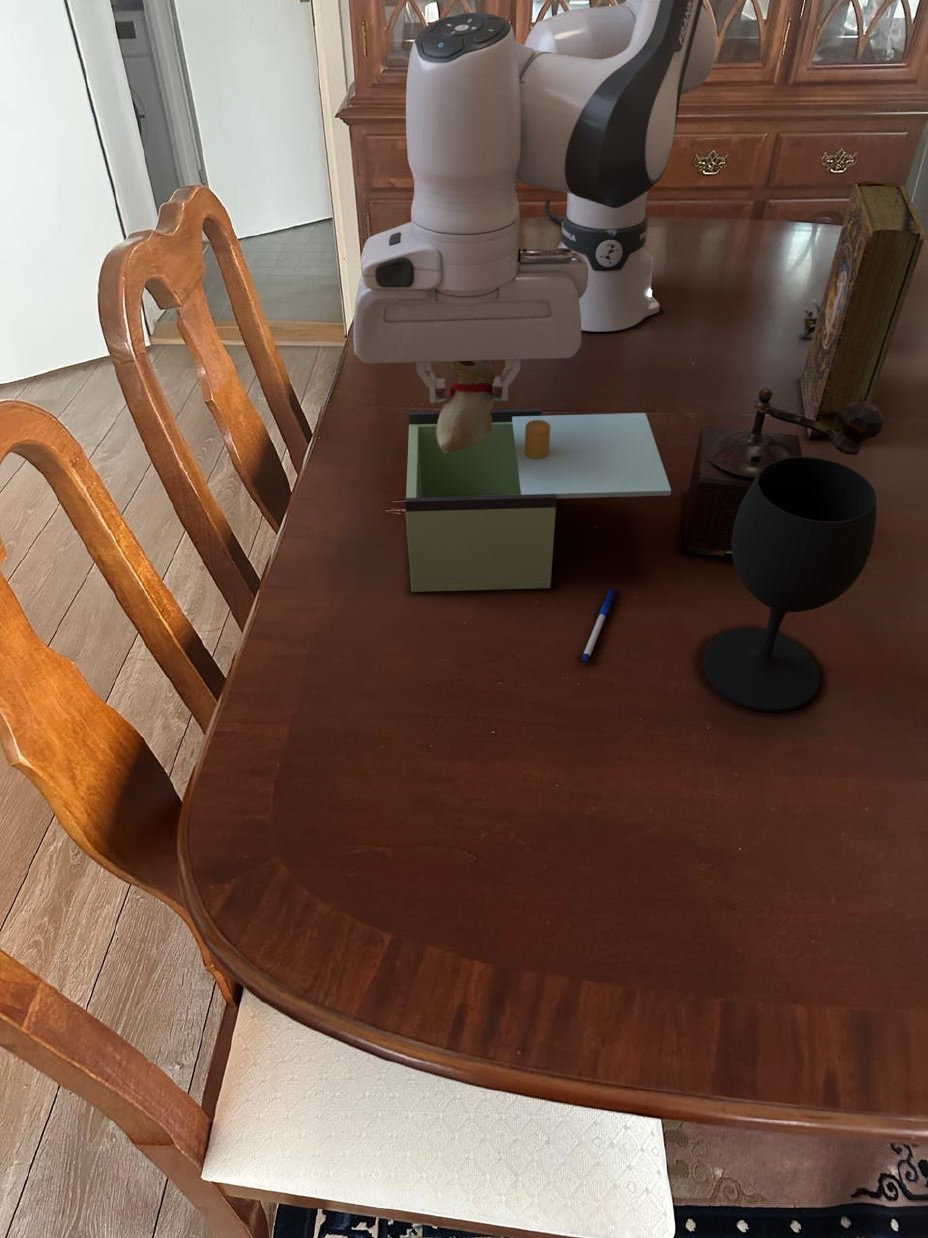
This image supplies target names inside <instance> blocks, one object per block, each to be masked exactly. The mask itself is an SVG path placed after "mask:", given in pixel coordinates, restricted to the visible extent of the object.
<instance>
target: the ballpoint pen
mask: <svg viewBox="0 0 928 1238" xmlns="http://www.w3.org/2000/svg"><path fill="white" fill-rule="evenodd" d="M615 594H616V591H615V589H614V588H613V587H611V589H609V590H608V591H607V594H606V596H605V598H604V601H603V604H602V605H601V607H600V611H599V613H598V618H597V619H596V621H595V624H594V627H593V629H592V632H591V635H590V637H589V639H588V642H587V644H586V646H585V649H584V651H583V654H582V661H581V662H582V663H583V664H586V663H587V662H588V660H590V657H591V655H592V652H593V651H594V647H595V645H596V642H597V639H598V637H599V635H600V632H601V629H602V627H603V625H604V622H605V620H606V618H607V616H608V613H609V611H610V608H611V606H612V604H613V601H614V597H615Z"/></svg>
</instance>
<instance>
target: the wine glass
mask: <svg viewBox="0 0 928 1238" xmlns="http://www.w3.org/2000/svg"><path fill="white" fill-rule="evenodd" d="M876 521H877V494H876V492H875V489H874V487H873V485H872V484H871V483H870V482H869V481H868V480H867V478H866V477H865V476H864V475H862V474H860V473H859V472H857V471H856V470H854V469H852V468H851V467H849V466H846V465H844V464H841V463H839V462H836V461H832V460H829V459H825V458H820V457H813V456H812V457H811V456H802V457H790V458H784V459H780V460H777V461H774V462H772V463H770V464H768V465H767V466H765V467H764V468H763V469H762V470H761V471H760V472H759V474H758V475H757V477H756V478H755V480H754V481H753V483H752V485H751V486H750V488H749V490H748V491H747V493H746V495H745V497H744V499H743V501H742V503H741V505H740V508H739V510H738V513H737V516H736V519H735V523H734V527H733V532H732V557H733V559H732V561H733V566H734V568H735V571H736V573H737V576H738V577H739V580H740V581H741V583H742V584H743V586H744V587H745V589H746V590H747V591H748V592H749V593H750V594H751V595H752V596H753V598H755V599H756V600H758V601H759V602H760V603H762V604H763V605H765V606H767V607H769V617H768V621H767V625H766V626H767V627H766V629H764V628H758V627H741V628H734V629H731V630H727V631H725V632H722V633H720V634H718V635H717V636H716V637H714V638H713V639H712V640H711V641H710V642H709V643H708V644H707V646H706V648H705V650H704V654H703V656H702V667H703V673H704V675H705V677H706V679H707V681H708V682H709V683H710V685H711V686H712V687H713V688H714V689H715V690H716V692H718V693H719V694H720V695H721V696H723V697H724V698H726V699H727V700H729V701H730V702H732V703H734V704H736V705H738V706H741V707H744V708H746V709H750V710H753V711H756V712H757V711H758V712H765V713H782V712H783V713H785V712H788V711H793V710H796V709H798V708H801V707H802V706H804V705H806V704H808V703H809V702H810V701H811V700H812V699H813V698H814V697H815V695H817V692H818V690H819V687H820V682H821V675H820V669H819V666H818V664H817V662H816V660H815V659H814V657H813V656H812V655H811V653H810V652H809V651H808V650H807V649H806V648H805V647H803V645H801V644H800V643H798V641H795V640H794V639H792V638H791V637H789V636H786V635H784V634H782V633H779V630H780V627H781V625H782V622H783V620H784V618H785V616H786V614H787V613H801V612H802V613H803V612H807V611H812V610H816V609H818V608H821V607H824V606H826V605H828V604H830V603H832V602H833V601H835V600H837V599H838V598H840V597H841V596H842V595H843V594H844V593H846V592H847V591H848V590H849V589H850V588H851V587H852V585H853V584H854V583H855V582H856V581H857V579H858V578H859V577H860V575H861V574H862V572H863V570H864V568H865V566H866V565H867V562H868V560H869V557H870V554H871V553H872V552H871V551H872V548H873V545H874V539H875V533H876V525H877V524H876V523H877V522H876Z"/></svg>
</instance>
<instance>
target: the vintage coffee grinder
mask: <svg viewBox="0 0 928 1238" xmlns="http://www.w3.org/2000/svg"><path fill="white" fill-rule="evenodd" d="M772 397H773V392H772V390H771V389H769V388H762V389H761V390H760V391H759V392H758V400H757V401H756V402H755V404H754V410H755V411H756V414H755V418H754V422H753V427H752V429H742V428H731V427H721V426H710V425H702V427H701V428H700V433H699V437H698V441H697V447H696V451H695V456H694V461H693V467H692V471H691V477H690V482H689V486H688V487H689V488H688V491H687V495H686V499H685V503H684V505H685V511H684V514H685V515H684V525H683V526H684V528H683V545H682V546H683V547H684V550H685V552H687V553H693V554H700V555H705V556H712V557H719V558H724V559H732V560H733V557H732V532H733V527H734V523H735V519H736V516H737V513H738V510H739V508H740V505H741V503H742V501H743V499H744V497H745V495H746V493H747V491H748V490H749V488H750V486H751V485H752V483H753V481H754V480H755V478H756V477H757V475H758V474H759V472H760V471H761V470H762V469H763V468H764V467H765V466H767V465H768V464H770V463H772V462H774V461H777V460H780V459H784V458H790V457H803V453H802V448H801V443H800V442H801V441H800V438H799V435H798V434H790V433H781V432H773V431H763V427H764V422H765V418H766V415H768V416H770V417H772V418H774V419H777V420H780V421H782V422H786V423H790V424H793V425H797V426H800V427H803V428H806V429H807V428H810V429H812V430H815V431H817V432H819V433H821V434H822V435H824V437H825V438H826V439H827V440H828V441H829V442H831V443H832V445H833V446H834V447H835V449H836V450H838V451H839V453H843V454H845V455H850V456H851V455H852V456H857V455H859V453H860V451H861V449H862V444H863V443H864V442H865V441H867V440H869V439H872V438H875V437H878V435H879V434H880V432H881V431H882V430H883V427H884V425H885V415H884V414H883V413H882V411H881V410H880V409H879V408H878V407H877V406H876V405H875V404H873V403H872V402H870V403H869V402H864V401H853V402H850V403H849V404H848V405H846V406H845V407H844V409H843V412H842V429H841V431H840V432H839V433H837V432H835V431H834V430H833V429H831V428H830V427H828V426H827V425H825V424H823V423H820V422H818V421H815V420H812V419H809V418H806V417H805V416H802V415H799V414H795V413H792V412H789V411H786V410H782V409H779V408H776V407H773V406H772V404H771V402H770V400H771V398H772Z"/></svg>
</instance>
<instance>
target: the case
mask: <svg viewBox="0 0 928 1238" xmlns="http://www.w3.org/2000/svg"><path fill="white" fill-rule="evenodd" d="M440 412H441V410H431V411H430V410H429V411H428V410H427V411H408V443H407V444H408V445H407V468H406V471H407V472H406V490H405V491H406V494H405V495H406V496H405V497H404V508H405V510H404V511H405V520H406V521H405V522H406V524H405V525H406V534H407V535H406V536H407V537H406V538H407V548H408V562H409V575H410V587H411V592H412V593H422V592H423V593H424V592H425V593H427V592H458V591H459V592H460V591H461V592H463V591H493V590H494V591H495V590H528V589H529V590H531V589H532V590H533V589H550V588H552V587H551V584H552V569H553V558H554V557H553V556H554V541H555V527H556V526H555V525H556V510H557V508H556V507H557V499H556V494H530V495H521V491H520V483H519V474H518V466H517V458H516V449H515V441H514V433H513V424H512V417H516V416H543V409H542V408H541V407H540V408H503V409H501V408H500V409H492V410H491V413H490V414H491V417H492V423H493V424H492V427H491V432H490V434H489V435H488V436H487V437H486V438H485V439H484V440H483V441H480V442H479V443H477V444H475V445H474V446H473V447H470V448H466V449H461V450H454V451H452V452H449V453H445V452H443V451H442V449H441V448H440V446H439V443H438V441H437V434H436V431H437V423H438V418H439V415H440Z"/></svg>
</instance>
